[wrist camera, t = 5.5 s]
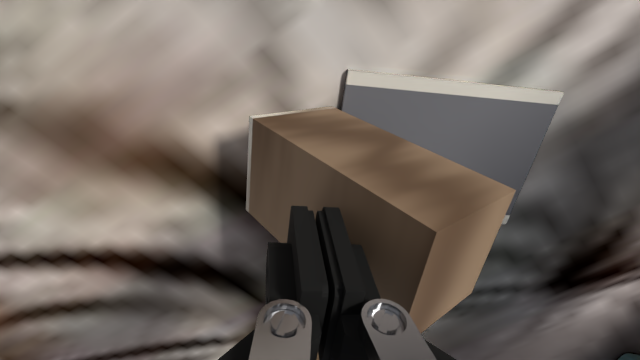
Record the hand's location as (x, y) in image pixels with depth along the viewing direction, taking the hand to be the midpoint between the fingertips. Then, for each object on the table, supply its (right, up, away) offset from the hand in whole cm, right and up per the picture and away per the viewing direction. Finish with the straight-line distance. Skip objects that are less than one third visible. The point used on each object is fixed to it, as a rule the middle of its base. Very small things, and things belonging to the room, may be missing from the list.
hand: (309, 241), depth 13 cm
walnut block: (-1, +3, +6) cm, 7 cm away
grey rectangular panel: (+7, +4, +9) cm, 12 cm away
